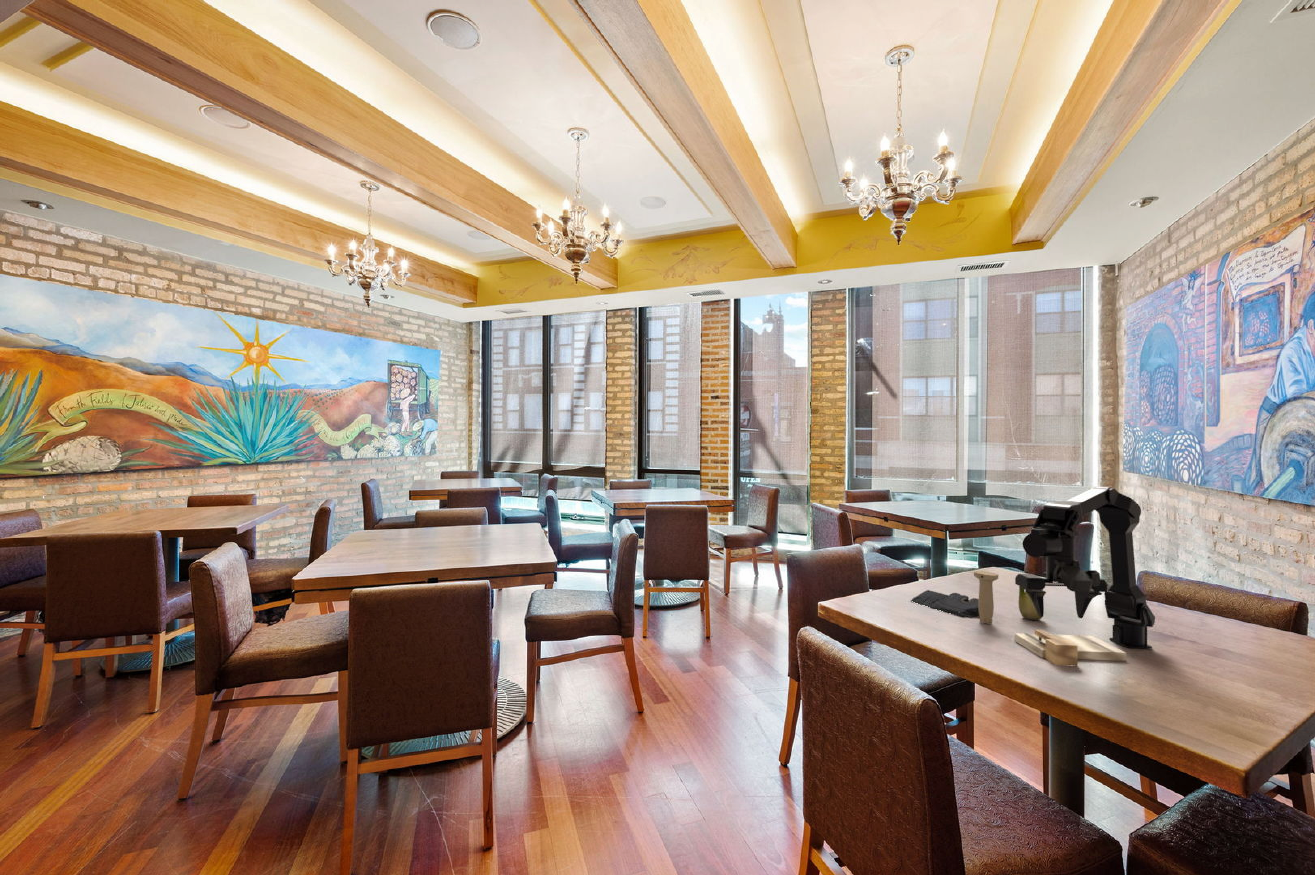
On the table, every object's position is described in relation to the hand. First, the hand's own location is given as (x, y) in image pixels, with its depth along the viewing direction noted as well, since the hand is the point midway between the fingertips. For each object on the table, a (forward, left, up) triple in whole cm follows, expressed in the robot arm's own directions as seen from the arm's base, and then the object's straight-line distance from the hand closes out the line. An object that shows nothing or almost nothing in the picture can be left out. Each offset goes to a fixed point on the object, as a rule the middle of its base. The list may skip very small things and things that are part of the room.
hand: (1060, 617), depth 135 cm
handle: (+3, -30, -11) cm, 32 cm away
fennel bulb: (-13, -35, -11) cm, 39 cm away
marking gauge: (0, -4, -11) cm, 12 cm away
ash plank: (-7, -9, -11) cm, 16 cm away
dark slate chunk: (+6, -46, -12) cm, 47 cm away
